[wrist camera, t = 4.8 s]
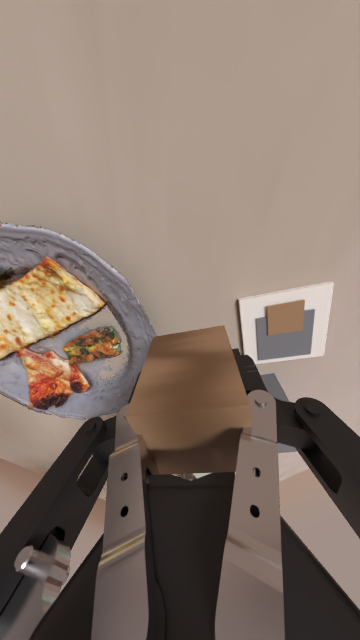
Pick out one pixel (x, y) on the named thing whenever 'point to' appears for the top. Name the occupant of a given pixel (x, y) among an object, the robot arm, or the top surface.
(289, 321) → the tile
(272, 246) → the top surface
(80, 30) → the top surface
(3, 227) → the food plate
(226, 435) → the walnut block
